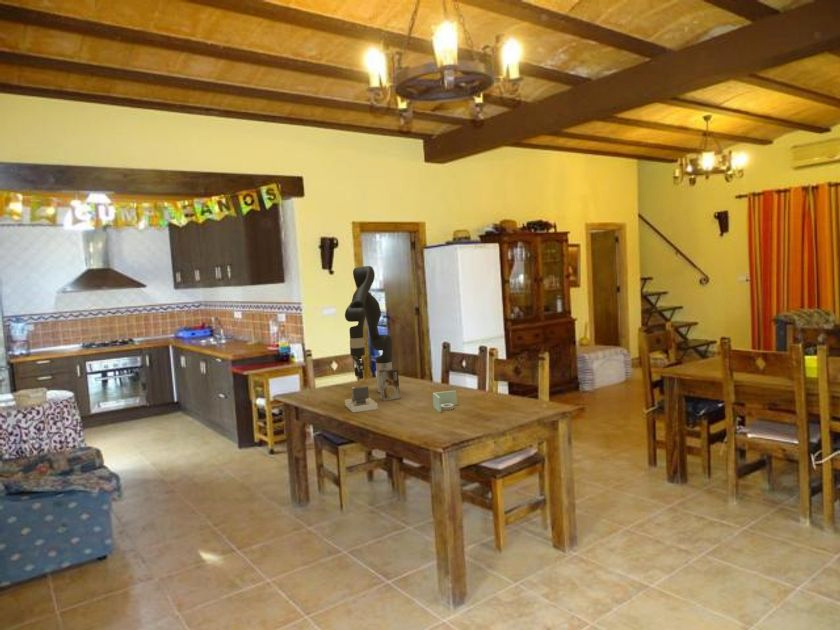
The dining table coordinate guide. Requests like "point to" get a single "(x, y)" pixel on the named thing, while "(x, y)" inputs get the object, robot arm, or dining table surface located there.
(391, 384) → the coffee box
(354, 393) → the wing knob
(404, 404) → the dining table surface
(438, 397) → the right angle wall
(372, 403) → the levelling base
